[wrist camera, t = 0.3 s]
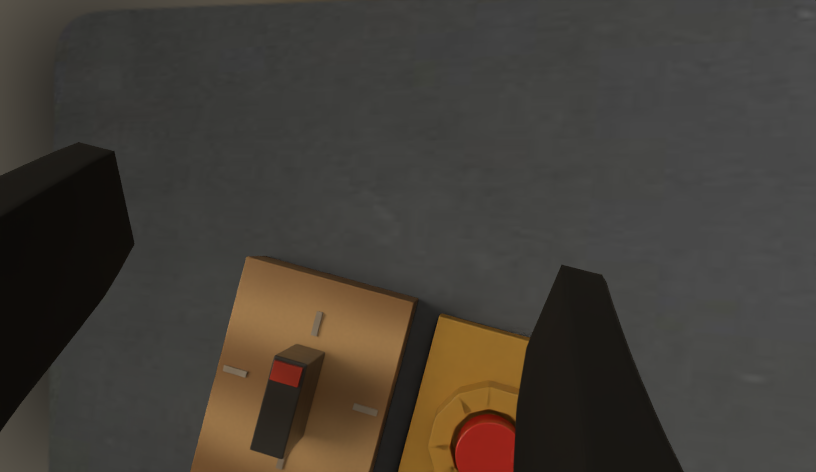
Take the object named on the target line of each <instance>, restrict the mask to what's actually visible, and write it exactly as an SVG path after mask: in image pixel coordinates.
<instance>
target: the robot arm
mask: <svg viewBox="0 0 816 472" xmlns="http://www.w3.org/2000/svg"><path fill="white" fill-rule="evenodd" d="M133 246H134V239H133V235H132V230H131V226H130V221H129V217H128V212H127V207H126V203H125V198H124V194H123V189H122V185H121V180H120V175H119V171H118V166H117V162H116V157H115V152H114V151H111V150H107V149H103V148H99V147H95V146H91V145H87V144H83V143H79V142H78V143H76V144H73V145H70V146H68V147H65V148H62V149H60V150H58V151H55V152H53V153H50V154H48V155H46V156H44V157H41V158H39V159H37V160H35V161H32V162H30V163H28V164H25V165H23V166H21V167H19V168H17V169H14V170H12V171H10V172H8V173H5V174H3V175H1V176H0V431H1V430H2V428H3V427H4V426H5V424H6V423H7V421H8V420H9V419H10V417H11V416H12V415H13V413H14V412H15V410H16V409H17V408H18V406H19V405H20V404H21V402H22V401H23V400H24V398H25V397H26V396H27V395H28V393H29V392H30V391H31V389H32V388H33V387H34V386H35V385H36V383H37V382H38V381H39V380H40V378H41V377H42V376H43V374H44V373H45V372H46V371H47V369H48V368H49V367H50V366H51V364H52V363H53V362H54V361H55V359H56V358H57V357H58V355H59V354H60V353H61V352H62V350H63V349H64V348H65V347H66V345H67V344H68V343H69V342H70V340H71V339H72V338H73V336H74V335H75V334H76V333H77V331H78V330H79V329H80V327H81V326H82V325H83V324H84V322H85V321H86V320H87V318H88V317H89V316H90V314H91V313H92V312H93V311H94V309H95V308H96V307H97V305H98V304H99V303H100V301H101V300H102V299H103V297H104V296H105V295H106V293H107V291H108V290H109V288H110V286H111V285H112V283H113V281H114V280H115V278H116V276H117V275H118V273H119V271H120V269H121V268H122V266H123V264H124V262H125V260H126V259H127V257H128V255H129V253H130V251H131V249H132V248H133ZM513 472H683V470H682V468H681V465H680V463H679V461H678V459H677V457H676V455H675V453H674V451H673V449H672V447H671V445H670V443H669V441H668V439H667V437H666V435H665V432H664V430H663V428H662V426H661V424H660V421H659V419H658V417H657V415H656V413H655V410H654V408H653V405H652V403H651V401H650V398H649V396H648V394H647V391H646V389H645V387H644V384H643V382H642V380H641V377H640V375H639V373H638V370H637V367H636V365H635V362H634V360H633V357H632V355H631V352H630V349H629V347H628V344H627V341H626V339H625V336H624V333H623V331H622V328H621V325H620V322H619V319H618V316H617V314H616V311H615V308H614V305H613V302H612V299H611V296H610V292H609V289H608V286H607V283H606V281H605V279H604V278H603V276H602V275H600V274H596V273H592V272H588V271H584V270H580V269H576V268H572V267H569V266H565V265H561V268H560V270H559V272H558V275H557V277H556V279H555V282H554V284H553V286H552V289H551V291H550V293H549V296H548V298H547V300H546V303H545V305H544V307H543V310H542V312H541V314H540V317H539V319H538V321H537V324H536V326H535V328H534V331H533V333H532V335H531V338H530V340H529V342H528V345H527V347H526V352H525V358H524V364H523V370H522V376H521V382H520V388H519V394H518V401H517V408H516V426H515V445H514V466H513Z"/></svg>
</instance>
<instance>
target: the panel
mask: <svg viewBox="0 0 816 472" xmlns="http://www.w3.org/2000/svg"><path fill="white" fill-rule="evenodd" d="M417 303H418V298H415V297H412V296H408V295H404V294H401V293H397V292H393V291H390V290H386V289H383V288H379V287H375V286H372V285H368V284H364V283H361V282H357V281H353V280H350V279H346V278H343V277H339V276H335V275H332V274H328V273H324V272H321V271H317V270H313V269H310V268H306V267H303V266H299V265H295V264H292V263H288V262H284V261H281V260H277V259H273V258H270V257H266V256H248V257H246V261H245V265H244V269H243V272H242V276H241V280H240V284H239V288H238V292H237V295H236V299H235V303H234V307H233V311H232V314H231V318H230V322H229V326H228V330H227V334H226V337H225V341H224V345H223V349H222V353H221V356H220V360H219V364H218V368H217V372H216V376H215V379H214V383H213V387H212V391H211V395H210V399H209V402H208V406H207V410H206V414H205V418H204V421H203V425H202V429H201V433H200V437H199V441H198V444H197V448H196V452H195V456H194V460H193V463H192V467H191V471H190V472H373V469H374V465H375V462H376V458H377V454H378V450H379V446H380V443H381V439H382V435H383V431H384V428H385V424H386V420H387V416H388V412H389V409H390V405H391V401H392V397H393V393H394V390H395V386H396V382H397V378H398V375H399V371H400V367H401V363H402V359H403V356H404V352H405V348H406V344H407V341H408V337H409V333H410V329H411V325H412V322H413V318H414V314H415V310H416V306H417ZM295 344H299V345H303V346H306V347H310V348H313V349H317V350H320V351H324V352H325V356H324V360H323V364H322V367H321V371H320V375H319V379H318V383H317V386H316V390H315V394H314V398H313V402H312V405H311V409H310V413H309V417H308V421H307V424H306V428H305V432H304V436H303V437H302V438H301V439H300V441H299V442H298V443H297V444H296V445H295V446H294V447H293V448H292V449H291V450H290V452H289V453H288V454H287V455H286V456H285V457H284V458H283V459H278V458H275V457H272V456H269V455H265V454H262V453H259V452H256V451H252V450H250V446H251V442H252V438H253V434H254V431H255V427H256V423H257V419H258V415H259V412H260V408H261V404H262V400H263V396H264V393H265V389H266V385H267V381H268V377H269V374H270V370H271V366H272V362H273V358H274V356H275V355H276V354H278V353H280V352H282V351H284V350H285V349H287V348H289V347H291V346H293V345H295Z"/></svg>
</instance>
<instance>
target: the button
mask: <svg viewBox="0 0 816 472" xmlns="http://www.w3.org/2000/svg"><path fill="white" fill-rule="evenodd" d="M514 445H515V427H514V426H513V424H512V423H510V422H509V421H508V420H506V419H505V418H503V417H500V416H498V415H493V414H483V415H479V416H476V417H474V418H472V419H470V420H469V421H468V422H466V423H465V424H464V426H463V427H462V428H461V430H460V432H459V434H458V437H457V441H456V450H455V461H456V465H457V468H458V470H459V472H513V466H514Z"/></svg>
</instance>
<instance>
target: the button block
mask: <svg viewBox="0 0 816 472" xmlns="http://www.w3.org/2000/svg"><path fill="white" fill-rule="evenodd" d="M529 340H530V338H529V337H525V336H521V335H518V334H514V333H511V332H507V331H503V330H500V329H496V328H493V327H489V326H485V325H482V324H478V323H474V322H471V321H467V320H464V319H460V318H456V317H453V316H449V315H445V314H440V316H439V318H438V322H437V326H436V329H435V333H434V337H433V341H432V345H431V348H430V352H429V356H428V360H427V363H426V367H425V371H424V375H423V379H422V382H421V386H420V390H419V394H418V397H417V401H416V405H415V409H414V413H413V416H412V420H411V424H410V428H409V431H408V435H407V439H406V443H405V447H404V450H403V454H402V458H401V462H400V465H399V469H398V472H459V470H458V468H457V465H456V461H455V450H456V441H457V437H458V434H459V432H460V430H461V428H462V427H463V426H464V424H465V423H466V422H468V421H469V420H470V419H472V418H474V417H476V416H479V415H483V414H493V415H498V416H500V417H503V418H505V419H506V420H508V421H509V422H510V423H512V424H513V426H514V427H515V426H516V408H517V401H518V394H519V388H520V382H521V376H522V370H523V364H524V358H525V352H526V347H527V345H528V342H529Z"/></svg>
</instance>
